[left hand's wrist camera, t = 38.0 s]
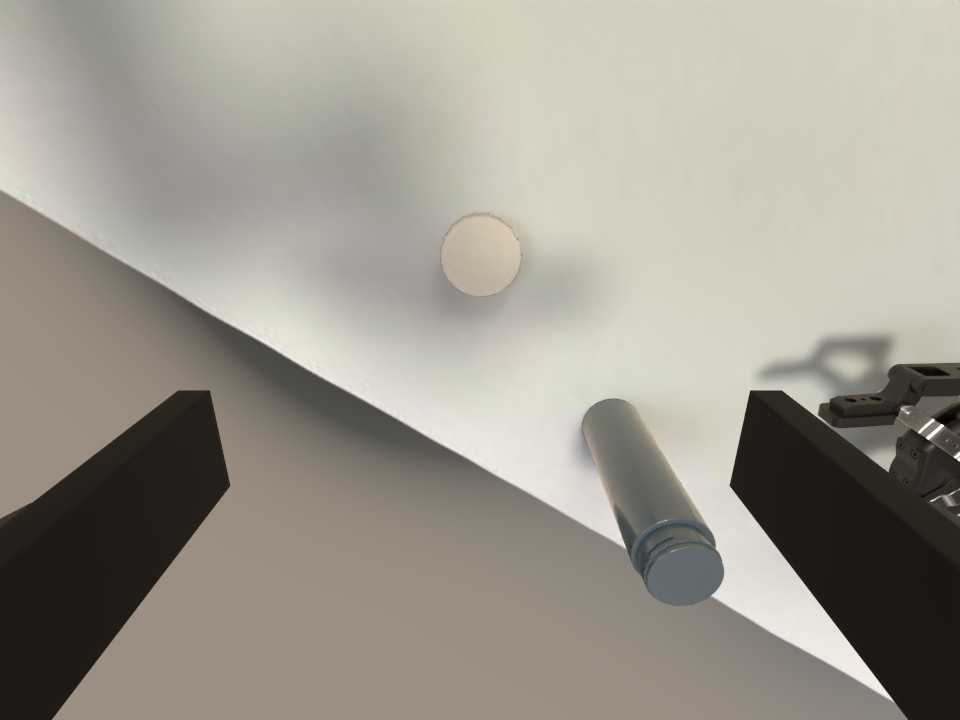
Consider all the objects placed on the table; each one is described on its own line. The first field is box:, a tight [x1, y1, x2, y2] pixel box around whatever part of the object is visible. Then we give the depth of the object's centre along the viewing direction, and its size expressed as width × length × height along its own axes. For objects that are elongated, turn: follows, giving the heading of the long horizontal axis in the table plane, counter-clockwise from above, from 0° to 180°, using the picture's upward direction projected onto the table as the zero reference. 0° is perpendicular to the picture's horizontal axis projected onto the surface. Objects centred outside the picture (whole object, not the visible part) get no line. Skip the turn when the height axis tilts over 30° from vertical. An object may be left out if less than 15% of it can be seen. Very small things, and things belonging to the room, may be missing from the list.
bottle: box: [582, 399, 724, 606], centre depth 36 cm, size 5×5×17 cm
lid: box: [440, 213, 521, 297], centre depth 38 cm, size 6×6×2 cm
